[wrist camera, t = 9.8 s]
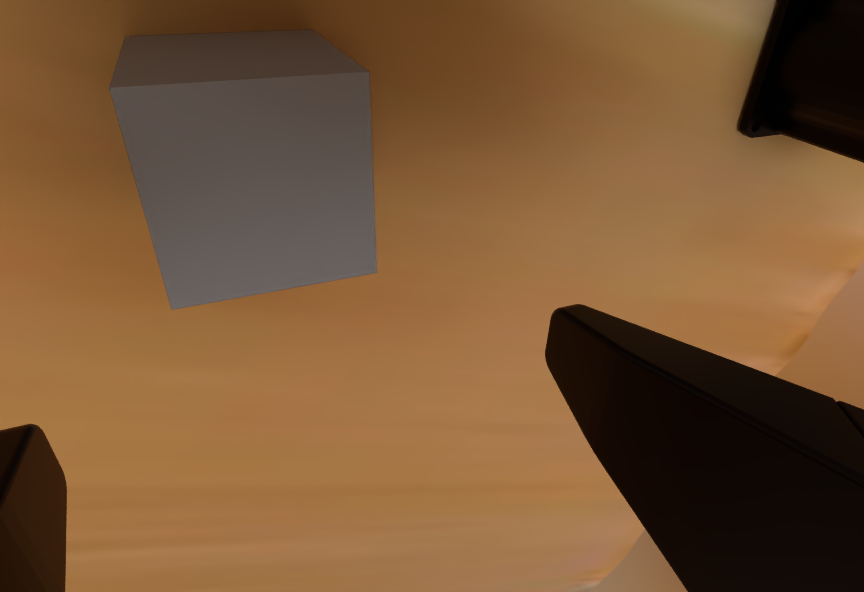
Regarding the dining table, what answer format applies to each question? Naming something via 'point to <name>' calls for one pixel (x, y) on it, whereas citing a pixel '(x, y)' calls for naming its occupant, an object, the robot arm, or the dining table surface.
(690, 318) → the dining table surface
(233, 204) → the part block
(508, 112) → the dining table surface
